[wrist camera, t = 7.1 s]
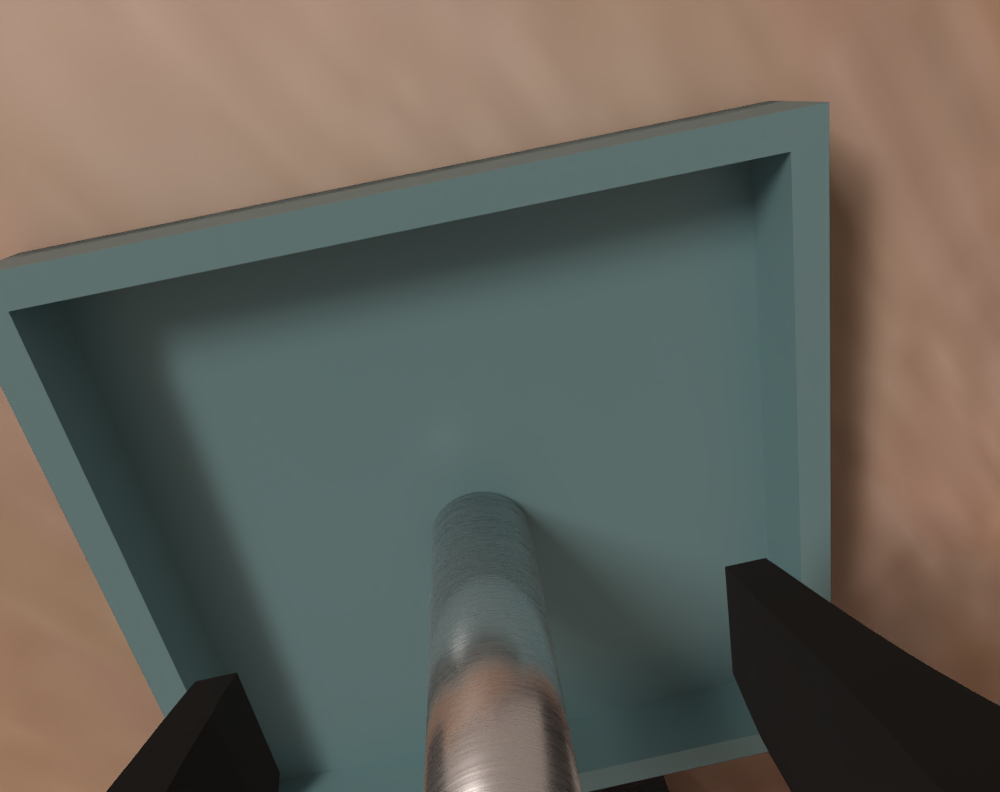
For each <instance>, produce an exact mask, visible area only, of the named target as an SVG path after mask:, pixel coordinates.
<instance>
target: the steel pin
mask: <svg viewBox="0 0 1000 792" xmlns="http://www.w3.org/2000/svg"><path fill="white" fill-rule="evenodd" d="M424 792H582V790H581V785H580V780H579V775H578V770H577V765H576V760H575V755H574V749H573V744H572V739H571V734H570V729H569V724H568V719H567V714H566V709H565V704H564V698H563V693H562V688H561V683H560V678H559V673H558V668H557V663H556V658H555V653H554V648H553V642H552V637H551V632H550V627H549V622H548V617H547V612H546V607H545V602H544V597H543V592H542V586H541V581H540V576H539V571H538V566H537V561H536V556H535V551H534V546H533V541H532V536H531V530H530V525H529V522H528V519H527V517H526V515H525V513H524V511H523V510H522V509H521V508H520V506H519V505H517V504H516V503H515V502H514V501H512V500H511V499H509V498H507V497H505V496H503V495H500V494H497V493H492V492H474V493H469V494H465V495H463V496H460V497H458V498H456V499H454V500H453V501H451V502H450V503H448V504H447V505H446V506H445V507H444V508H443V509H442V510H441V511H440V513H439V514H438V516H437V518H436V520H435V522H434V526H433V531H432V556H431V588H430V620H429V652H428V684H427V716H426V749H425V781H424Z"/></svg>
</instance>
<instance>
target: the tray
mask: <svg viewBox="0 0 1000 792" xmlns="http://www.w3.org/2000/svg"><path fill="white" fill-rule="evenodd" d="M0 385H1V387H2V389H3V391H4V393H5V395H6V397H7V399H8V401H9V403H10V405H11V407H12V409H13V411H14V414H15V416H16V418H17V420H18V422H19V424H20V426H21V428H22V430H23V432H24V434H25V436H26V438H27V440H28V442H29V444H30V446H31V448H32V450H33V452H34V454H35V456H36V458H37V460H38V462H39V464H40V466H41V468H42V470H43V472H44V474H45V476H46V478H47V480H48V482H49V484H50V486H51V488H52V490H53V492H54V494H55V496H56V498H57V500H58V502H59V504H60V507H61V509H62V511H63V513H64V515H65V517H66V519H67V521H68V523H69V525H70V527H71V529H72V531H73V533H74V535H75V537H76V539H77V541H78V543H79V545H80V547H81V549H82V551H83V553H84V555H85V557H86V559H87V561H88V563H89V565H90V567H91V569H92V571H93V573H94V575H95V577H96V579H97V581H98V583H99V585H100V587H101V589H102V591H103V593H104V595H105V597H106V599H107V602H108V604H109V606H110V608H111V610H112V612H113V614H114V616H115V618H116V620H117V622H118V624H119V626H120V628H121V630H122V632H123V634H124V636H125V638H126V640H127V642H128V644H129V646H130V648H131V650H132V652H133V654H134V656H135V658H136V660H137V662H138V664H139V666H140V668H141V670H142V672H143V674H144V676H145V678H146V680H147V682H148V684H149V686H150V688H151V690H152V692H153V695H154V697H155V699H156V701H157V703H158V705H159V707H160V709H161V711H162V713H163V715H164V717H165V718H166V716H167V715H168V714H169V713H170V711H171V710H172V709H173V708H174V706H175V705H176V704H177V703H178V701H179V700H180V699H181V698H182V696H183V695H184V694H185V693H186V692H187V691H188V689H189V688H190V687H191V686H192V685H193V683H194V682H195V681H199V680H204V679H209V678H213V677H218V676H222V675H227V674H232V673H236V672H237V674H238V676H239V678H240V681H241V683H242V685H243V688H244V690H245V692H246V695H247V697H248V699H249V702H250V704H251V706H252V709H253V711H254V713H255V716H256V718H257V720H258V723H259V725H260V727H261V730H262V732H263V734H264V737H265V739H266V742H267V744H268V746H269V749H270V751H271V753H272V756H273V758H274V760H275V763H276V765H277V767H278V770H279V772H280V777H279V789H278V792H424V781H425V749H426V716H427V684H428V652H429V620H430V588H431V556H432V531H433V526H434V522H435V520H436V518H437V516H438V514H439V513H440V511H441V510H442V509H443V508H444V507H445V506H446V505H447V504H448V503H450V502H451V501H453V500H454V499H456V498H458V497H460V496H463V495H465V494H469V493H474V492H492V493H497V494H500V495H503V496H505V497H507V498H509V499H511V500H512V501H514V502H515V503H516V504H517V505H519V506H520V508H521V509H522V510H523V511H524V513H525V515H526V517H527V519H528V522H529V525H530V530H531V536H532V541H533V546H534V551H535V556H536V561H537V566H538V571H539V576H540V581H541V586H542V592H543V597H544V602H545V607H546V612H547V617H548V622H549V627H550V632H551V637H552V642H553V648H554V653H555V658H556V663H557V668H558V673H559V678H560V683H561V688H562V693H563V698H564V704H565V709H566V714H567V719H568V724H569V729H570V734H571V739H572V744H573V749H574V755H575V760H576V765H577V770H578V775H579V780H580V785H581V790H582V792H590V791H594V790H599V789H603V788H608V787H612V786H617V785H621V784H626V783H630V782H635V781H639V780H644V779H648V778H653V777H657V776H662V775H666V774H671V773H675V772H680V771H684V770H689V769H693V768H698V767H702V766H707V765H711V764H716V763H720V762H725V761H729V760H734V759H738V758H743V757H747V756H752V755H756V754H761V753H765V752H769V751H768V750H767V748H766V746H765V744H764V743H763V741H762V739H761V737H760V734H759V732H758V730H757V728H756V726H755V723H754V721H753V719H752V717H751V714H750V712H749V710H748V708H747V705H746V703H745V701H744V698H743V696H742V694H741V691H740V689H739V687H738V684H737V682H736V680H735V677H734V675H733V670H732V657H731V643H730V630H729V616H728V603H727V589H726V576H725V567H726V566H730V565H735V564H740V563H744V562H749V561H753V560H758V559H763V558H767V559H768V560H769V561H771V562H772V563H774V564H775V565H777V566H778V567H780V568H781V569H783V570H784V571H786V572H787V573H788V574H790V575H791V576H793V577H794V578H796V579H797V580H799V581H800V582H801V583H803V584H804V585H806V586H807V587H809V588H810V589H811V590H813V591H814V592H816V593H817V594H819V595H820V596H822V597H823V598H824V599H826V600H827V601H829V602H830V603H831V471H830V201H829V102H800V101H767V102H762V103H757V104H752V105H748V106H743V107H738V108H733V109H728V110H723V111H718V112H713V113H708V114H703V115H698V116H693V117H688V118H683V119H678V120H674V121H669V122H664V123H659V124H654V125H649V126H644V127H639V128H634V129H629V130H624V131H619V132H614V133H609V134H604V135H600V136H595V137H590V138H585V139H580V140H575V141H570V142H565V143H560V144H555V145H550V146H545V147H540V148H535V149H530V150H526V151H521V152H516V153H511V154H506V155H501V156H496V157H491V158H486V159H481V160H476V161H471V162H466V163H461V164H456V165H452V166H447V167H442V168H437V169H432V170H427V171H422V172H417V173H412V174H407V175H402V176H397V177H392V178H387V179H382V180H378V181H373V182H368V183H363V184H358V185H353V186H348V187H343V188H338V189H333V190H328V191H323V192H318V193H313V194H308V195H304V196H299V197H294V198H289V199H284V200H279V201H274V202H269V203H264V204H259V205H254V206H249V207H244V208H239V209H234V210H230V211H225V212H220V213H215V214H210V215H205V216H200V217H195V218H190V219H185V220H180V221H175V222H170V223H165V224H160V225H156V226H151V227H146V228H141V229H136V230H131V231H126V232H121V233H116V234H111V235H106V236H101V237H96V238H91V239H86V240H82V241H77V242H72V243H67V244H62V245H57V246H52V247H47V248H42V249H37V250H32V251H27V252H22V253H18V254H15V255H13V256H10V257H8V258H5V259H3V260H0Z"/></svg>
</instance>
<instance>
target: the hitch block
mask: <svg viewBox="0 0 1000 792" xmlns="http://www.w3.org/2000/svg"><path fill="white" fill-rule="evenodd" d="M590 792H669V791H668V788H667V785H666V782H665V779H664V776H663V775H662V776H657V777H653V778H648V779H644V780H639V781H635V782H630V783H626V784H621V785H617V786H612V787H608V788H603V789H599V790H594V791H590Z"/></svg>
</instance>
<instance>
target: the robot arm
mask: <svg viewBox="0 0 1000 792" xmlns="http://www.w3.org/2000/svg"><path fill="white" fill-rule="evenodd" d="M725 576H726V589H727V603H728V616H729V630H730V643H731V657H732V670H733V675H734V677H735V680H736V682H737V684H738V687H739V689H740V691H741V694H742V696H743V698H744V701H745V703H746V705H747V708H748V710H749V712H750V714H751V717H752V719H753V721H754V723H755V726H756V728H757V730H758V732H759V734H760V737H761V739H762V741H763V743H764V744H765V746H766V748H767V750H768V751H769V753H770V755H771V757H772V759H773V760H774V762H775V764H776V765H777V767H778V769H779V771H780V772H781V774H782V776H783V778H784V779H785V781H786V783H787V785H788V786H789V788H790V790H791V792H1000V706H999V705H997V704H995V703H993V702H991V701H989V700H988V699H986V698H984V697H982V696H980V695H978V694H977V693H975V692H973V691H971V690H969V689H968V688H966V687H964V686H963V685H961V684H959V683H957V682H956V681H954V680H952V679H950V678H949V677H947V676H945V675H943V674H942V673H940V672H938V671H937V670H935V669H933V668H931V667H930V666H928V665H926V664H924V663H923V662H921V661H920V660H918V659H916V658H915V657H913V656H911V655H910V654H908V653H906V652H905V651H903V650H902V649H900V648H899V647H897V646H895V645H894V644H892V643H891V642H889V641H888V640H886V639H885V638H883V637H881V636H880V635H878V634H877V633H875V632H874V631H872V630H871V629H869V628H867V627H866V626H864V625H863V624H861V623H860V622H858V621H857V620H855V619H854V618H852V617H851V616H849V615H848V614H846V613H845V612H843V611H842V610H841V609H839V608H838V607H836V606H835V605H833V604H832V603H830V602H829V601H827V600H826V599H824V598H823V597H822V596H820V595H819V594H817V593H816V592H814V591H813V590H811V589H810V588H809V587H807V586H806V585H804V584H803V583H801V582H800V581H799V580H797V579H796V578H794V577H793V576H791V575H790V574H788V573H787V572H786V571H784V570H783V569H781V568H780V567H778V566H777V565H775V564H774V563H772V562H771V561H769V560H768V559H767V558H763V559H758V560H753V561H749V562H744V563H740V564H735V565H730V566H726V567H725ZM279 777H280V772H279V770H278V767H277V765H276V763H275V760H274V758H273V756H272V753H271V751H270V749H269V746H268V744H267V742H266V739H265V737H264V734H263V732H262V730H261V727H260V725H259V723H258V720H257V718H256V716H255V713H254V711H253V709H252V706H251V704H250V702H249V699H248V697H247V695H246V692H245V690H244V688H243V685H242V683H241V681H240V678H239V676H238V674H237V672H236V673H232V674H227V675H222V676H218V677H213V678H209V679H204V680H199V681H195V682H194V683H193V685H192V686H191V687H190V688H189V689H188V691H187V692H186V693H185V694H184V695H183V696H182V698H181V699H180V700H179V701H178V703H177V704H176V705H175V706H174V708H173V709H172V710H171V711H170V713H169V714H168V715H167V716H166V718H165V719H164V720H163V721H162V723H161V724H160V725H159V726H158V728H157V729H156V730H155V732H154V733H153V734H152V735H151V737H150V738H149V739H148V740H147V742H146V743H145V744H144V745H143V747H142V748H141V749H140V751H139V752H138V753H137V754H136V756H135V757H134V758H133V759H132V761H131V762H130V763H129V764H128V766H127V767H126V768H125V769H124V770H123V772H122V773H121V774H120V775H119V777H118V778H117V779H116V780H115V782H114V783H113V784H112V785H111V787H110V788H109V789H108V790H107V792H278V789H279Z"/></svg>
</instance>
